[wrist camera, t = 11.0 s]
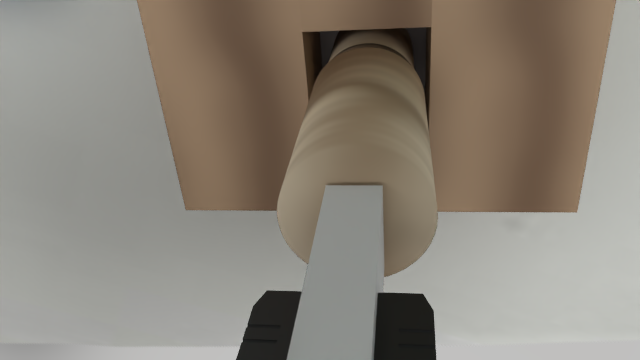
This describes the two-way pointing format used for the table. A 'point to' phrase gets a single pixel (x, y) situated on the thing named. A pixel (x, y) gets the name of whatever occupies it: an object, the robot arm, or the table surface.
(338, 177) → the beech leg
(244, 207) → the seat board
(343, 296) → the robot arm
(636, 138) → the table surface
